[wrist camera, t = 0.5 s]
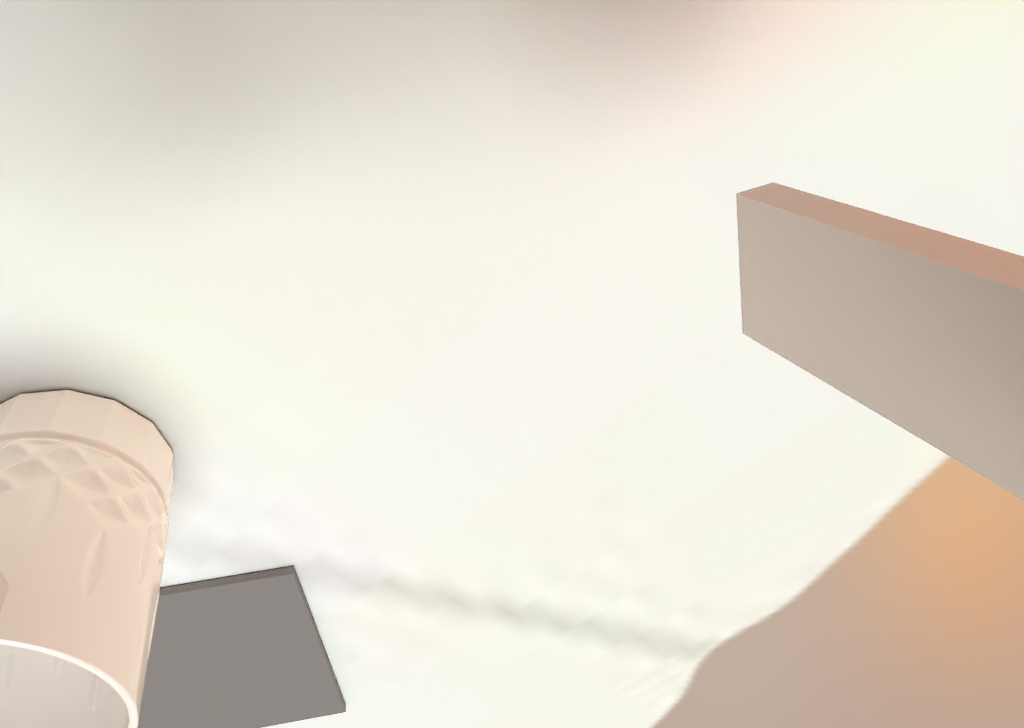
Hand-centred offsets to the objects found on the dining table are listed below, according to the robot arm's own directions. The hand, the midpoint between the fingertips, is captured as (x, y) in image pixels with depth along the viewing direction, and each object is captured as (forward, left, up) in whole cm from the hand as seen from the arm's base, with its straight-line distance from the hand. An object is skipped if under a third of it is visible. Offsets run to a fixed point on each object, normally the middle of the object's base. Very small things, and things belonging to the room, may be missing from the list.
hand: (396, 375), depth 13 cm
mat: (+26, -13, -12) cm, 31 cm away
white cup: (+12, -13, -13) cm, 22 cm away
